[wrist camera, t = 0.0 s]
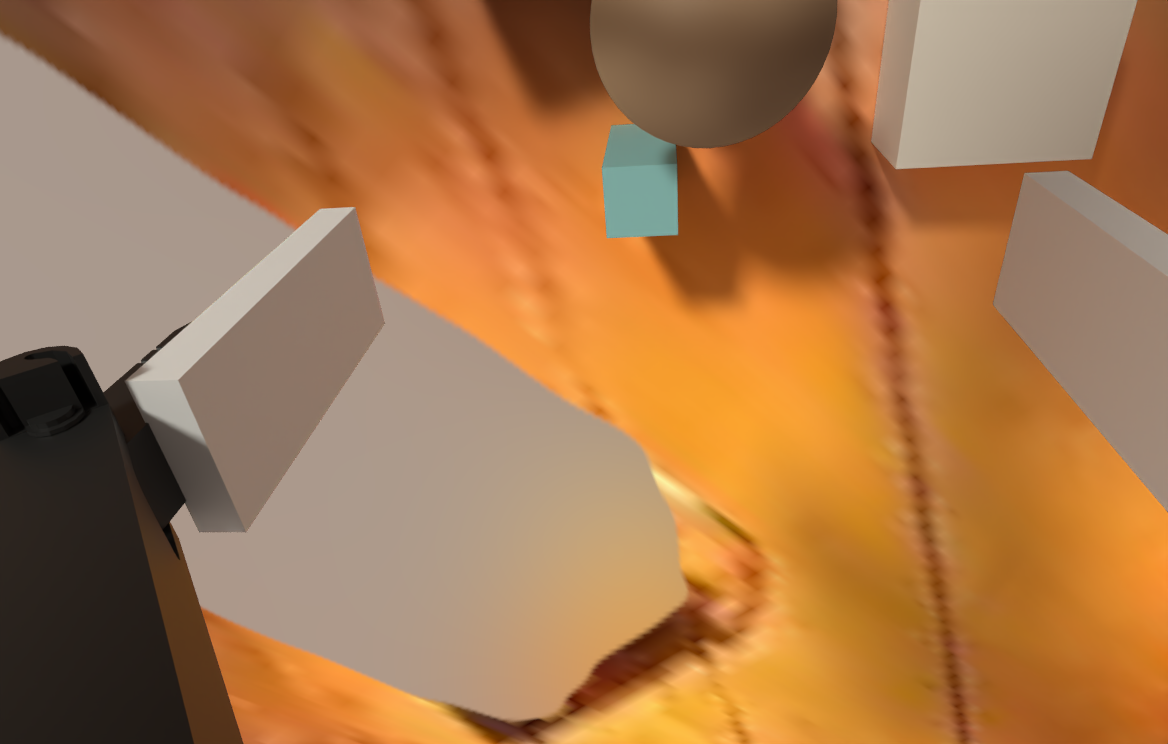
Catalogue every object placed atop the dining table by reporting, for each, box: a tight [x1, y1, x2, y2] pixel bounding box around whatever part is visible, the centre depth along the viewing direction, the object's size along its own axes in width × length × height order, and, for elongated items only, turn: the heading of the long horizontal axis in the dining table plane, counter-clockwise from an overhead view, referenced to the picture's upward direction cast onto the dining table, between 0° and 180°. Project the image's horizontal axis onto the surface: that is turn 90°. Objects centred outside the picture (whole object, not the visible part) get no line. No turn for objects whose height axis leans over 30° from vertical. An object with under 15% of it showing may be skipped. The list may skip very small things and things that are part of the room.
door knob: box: [590, 0, 837, 148], centre depth 32 cm, size 9×9×12 cm
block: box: [602, 124, 678, 238], centre depth 38 cm, size 4×4×8 cm
